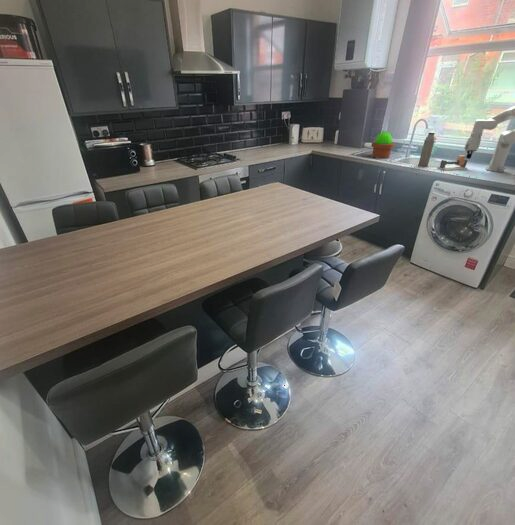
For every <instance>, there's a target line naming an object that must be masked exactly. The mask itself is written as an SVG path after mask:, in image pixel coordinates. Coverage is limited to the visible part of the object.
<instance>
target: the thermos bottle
mask: <svg viewBox="0 0 515 525" xmlns="http://www.w3.org/2000/svg"><path fill="white" fill-rule="evenodd" d="M435 134H436V133H435V132H428V134H427V136H426V137H425V139H424V141H423V145H422V150H421V153H420V156H419V159H418V160H419V162H418V167H429V162H430V160H431V157H432V152H433V148H434V145H435V141H436V139H435V138H436V137H435Z"/></svg>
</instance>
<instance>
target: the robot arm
mask: <svg viewBox="0 0 515 525" xmlns="http://www.w3.org/2000/svg"><path fill="white" fill-rule="evenodd" d="M514 119H515V105H514V106H511V107H510V108H508V109H506V110H504V111H501V112H499V113H497V114H495V115H494V116H492V117H490V118H488V119H487V120H486V119H480V118H479V119H476V120H475V123H474V125H473V128H472V131H471V134H470V137H468V138H467V141H466V144H465V145H464V152H466V153H467V154H466V158H465V159H467V160H468V159H469V160H470V159H471V158H472V155H473V154H474V153H475V152H477V151H478V149H479V148H480V145H481V141H482V136H483V133H484V130H488V131H492V130H495V129H496V128H497V127H498V125H499V124H501V123H503V122H506V121H510V120H514ZM514 143H515V128H514V129H513V130H510V129H508V130H505V131H503V132H501V134H500V135H499V137H498V140H497V144H496V146H495V149H494V152H493V155H492V157H491V160H490V163H489V165H488V167H486V168H485V170H487V171H490V172H495V173H496V172H498V173H500V172H504V171H505V170H506V169H507V168H506V167H505V163H506V160H507V158H508V155H509V152H510V150H511V148H512V145H513V144H514Z"/></svg>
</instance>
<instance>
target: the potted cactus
mask: <svg viewBox="0 0 515 525" xmlns="http://www.w3.org/2000/svg"><path fill="white" fill-rule="evenodd" d="M370 145H371V146H370V147H372V154H371V156H374V157H373V158H376V157H379V158H378V159H388V158H390V157H391V156H390V155H391V150H392V149H393V148H395V142H393V137H392V135H391V133H389V132H388V131H384V130H383V131H381V132H380V133H379V134H378V135H376V138H375V140H374V141H372V142H371V144H370ZM387 157H388V158H387Z"/></svg>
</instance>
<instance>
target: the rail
mask: <svg viewBox="0 0 515 525" xmlns="http://www.w3.org/2000/svg"><path fill="white" fill-rule="evenodd" d="M459 162H460V161H456V160H454V161H452V160H450V161H447V160H444V159H442V160H441V162H440V164H439V166H436V168H437V169H439V170H441V169H442V171H444V170H445V171H463V170H465V171H466V170H468V167H467V163H468V159H467V158H465V162H464V165H463V166H457V165H455V164H459ZM447 165H448V166H447Z"/></svg>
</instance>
